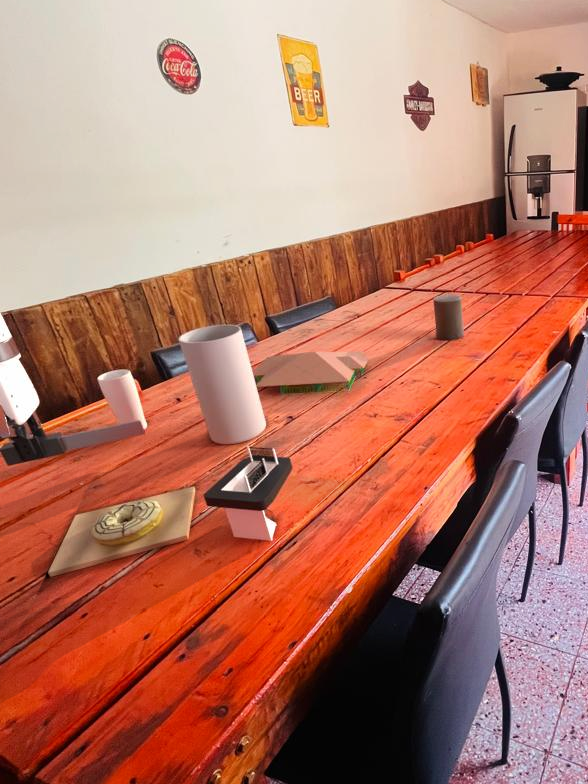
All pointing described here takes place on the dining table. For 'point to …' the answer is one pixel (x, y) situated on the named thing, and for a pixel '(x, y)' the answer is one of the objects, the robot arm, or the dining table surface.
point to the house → (310, 369)
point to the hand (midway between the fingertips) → (37, 453)
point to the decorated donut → (127, 523)
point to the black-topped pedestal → (251, 493)
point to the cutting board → (87, 551)
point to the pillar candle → (448, 317)
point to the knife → (76, 440)
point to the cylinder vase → (224, 383)
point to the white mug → (122, 396)
